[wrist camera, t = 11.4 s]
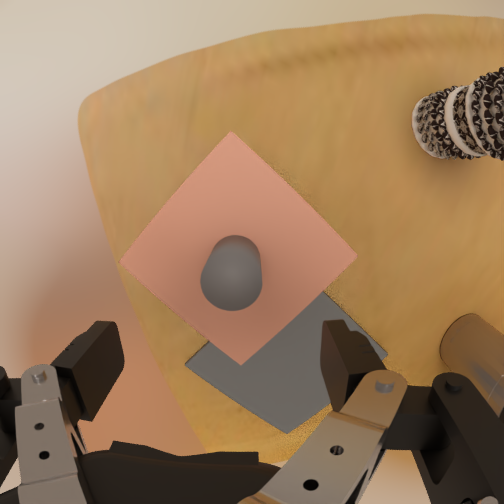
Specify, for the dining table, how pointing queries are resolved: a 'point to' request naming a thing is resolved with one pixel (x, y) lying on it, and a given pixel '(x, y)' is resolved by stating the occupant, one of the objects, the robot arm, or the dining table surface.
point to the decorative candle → (463, 120)
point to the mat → (279, 368)
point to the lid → (237, 251)
